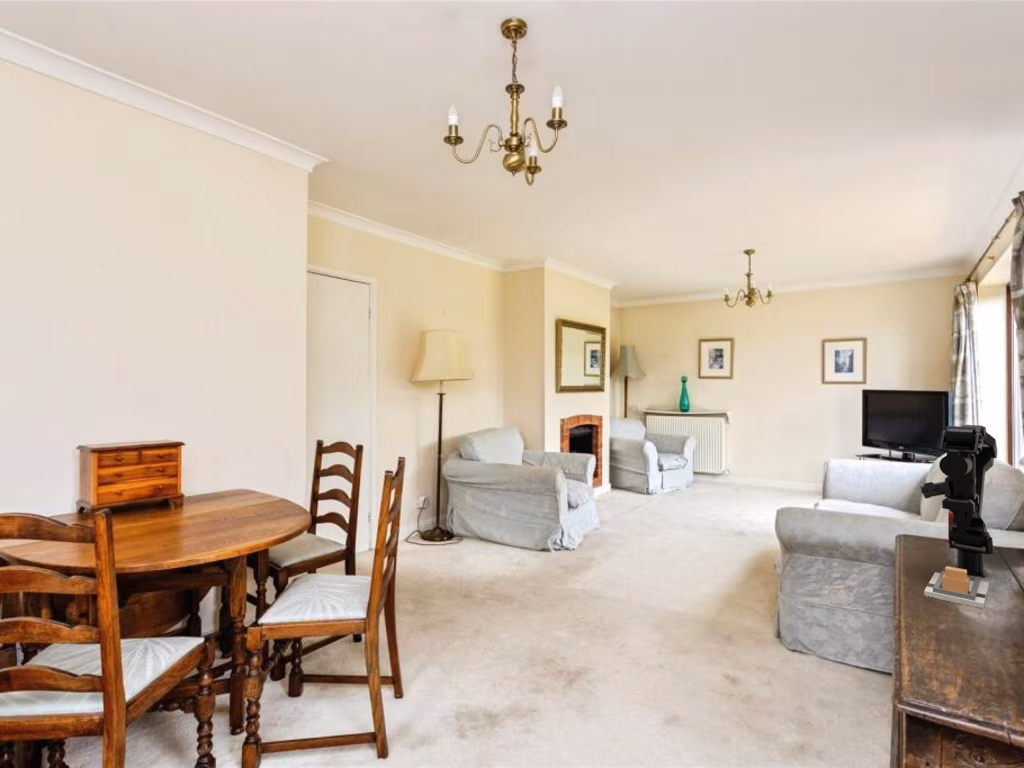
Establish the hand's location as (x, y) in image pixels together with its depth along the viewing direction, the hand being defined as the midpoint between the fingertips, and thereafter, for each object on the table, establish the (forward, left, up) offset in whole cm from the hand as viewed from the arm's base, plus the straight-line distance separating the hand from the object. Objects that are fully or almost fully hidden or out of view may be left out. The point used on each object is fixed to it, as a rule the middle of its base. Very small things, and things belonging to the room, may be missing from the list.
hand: (961, 533), depth 142 cm
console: (+9, 0, -13) cm, 16 cm away
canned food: (-49, -3, -13) cm, 51 cm away
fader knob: (+13, 0, -12) cm, 17 cm away
